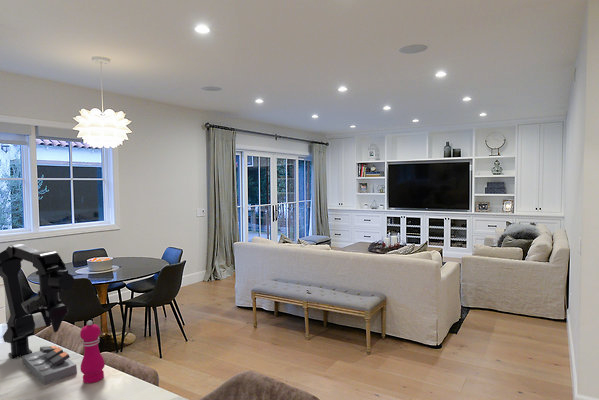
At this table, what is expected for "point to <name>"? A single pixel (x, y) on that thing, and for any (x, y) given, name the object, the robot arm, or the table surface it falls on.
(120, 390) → the table surface
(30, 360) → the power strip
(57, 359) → the rocker outer
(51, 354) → the rocker middle
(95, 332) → the pepper mill
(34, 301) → the robot arm
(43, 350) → the rocker inner
